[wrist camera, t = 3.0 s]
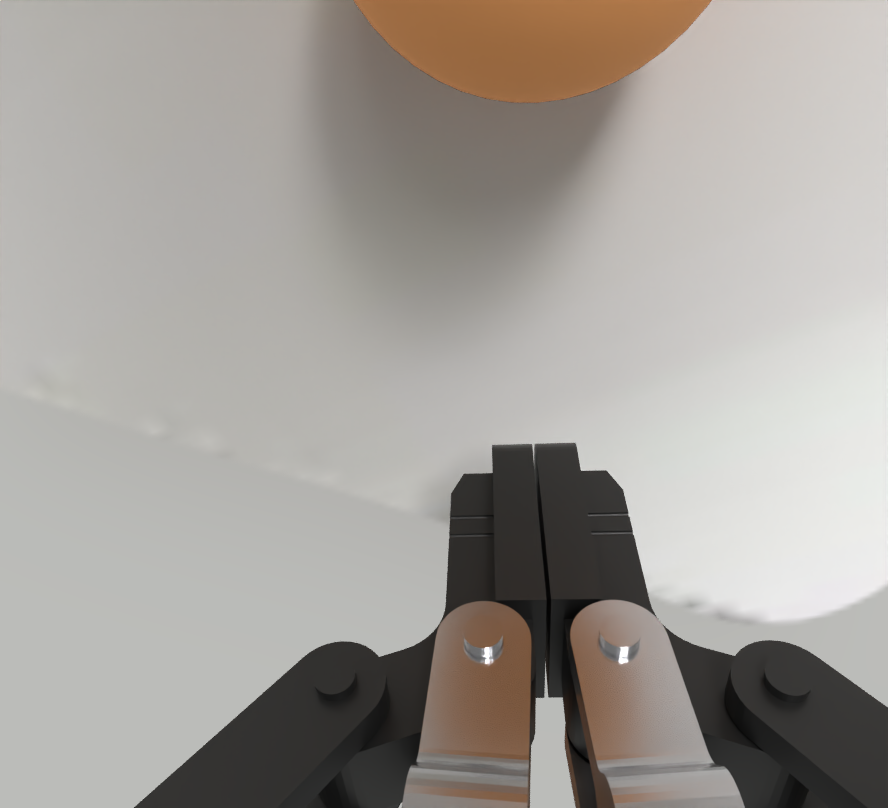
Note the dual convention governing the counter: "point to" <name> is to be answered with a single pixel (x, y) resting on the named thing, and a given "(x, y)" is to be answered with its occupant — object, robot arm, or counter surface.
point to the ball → (530, 41)
